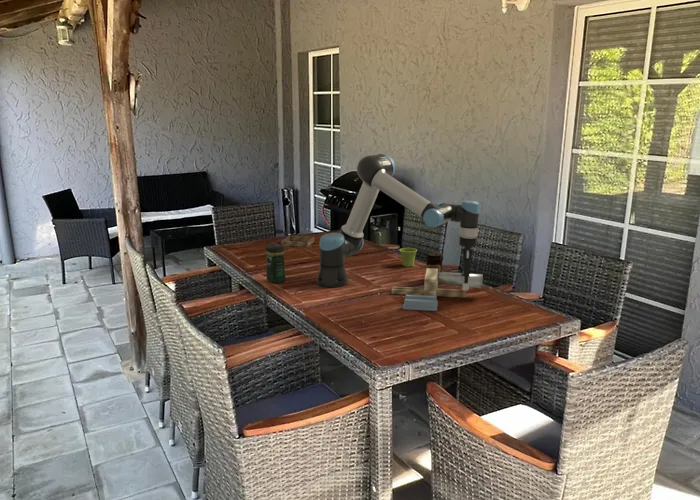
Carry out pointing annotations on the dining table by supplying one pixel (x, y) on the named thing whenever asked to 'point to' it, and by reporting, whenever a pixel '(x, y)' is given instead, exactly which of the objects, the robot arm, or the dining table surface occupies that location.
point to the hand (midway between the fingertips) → (465, 287)
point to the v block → (420, 302)
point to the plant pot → (408, 256)
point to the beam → (429, 287)
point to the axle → (459, 279)
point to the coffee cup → (434, 261)
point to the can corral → (298, 238)
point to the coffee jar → (275, 263)
